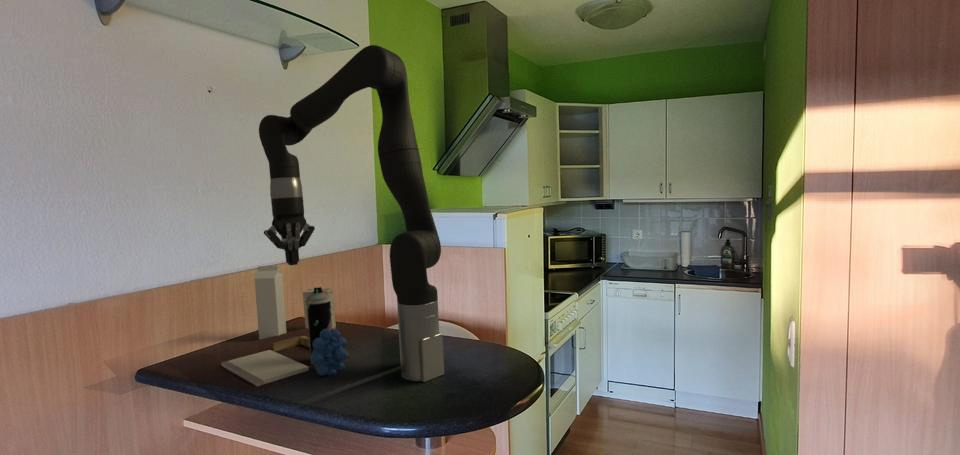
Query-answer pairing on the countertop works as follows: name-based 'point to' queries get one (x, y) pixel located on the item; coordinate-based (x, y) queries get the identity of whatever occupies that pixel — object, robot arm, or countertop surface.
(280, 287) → the milk
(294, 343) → the wooden u-shaped bracket
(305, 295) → the supplement box
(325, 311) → the spray can
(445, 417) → the countertop surface
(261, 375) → the cream thin rectangular board
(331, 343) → the grapes
